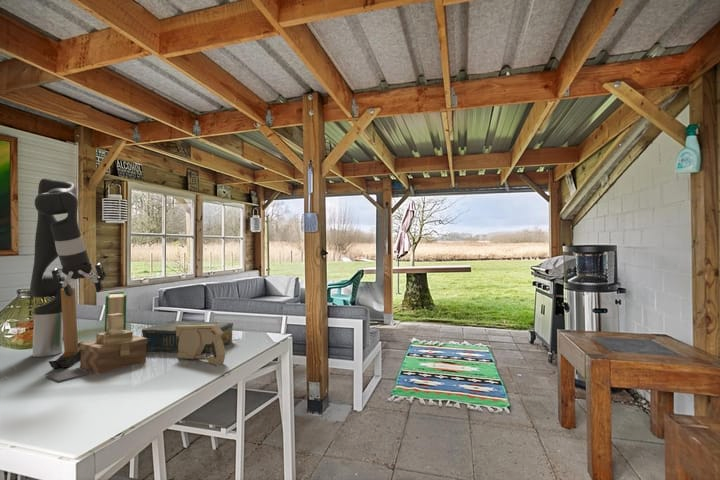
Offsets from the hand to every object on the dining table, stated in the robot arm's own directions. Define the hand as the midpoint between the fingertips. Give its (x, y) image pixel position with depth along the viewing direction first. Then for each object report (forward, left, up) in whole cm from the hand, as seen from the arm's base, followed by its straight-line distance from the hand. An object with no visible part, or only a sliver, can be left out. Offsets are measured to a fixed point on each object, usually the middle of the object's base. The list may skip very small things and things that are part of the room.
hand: (85, 293), depth 121 cm
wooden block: (-2, +11, -19) cm, 22 cm away
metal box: (0, +41, -29) cm, 50 cm away
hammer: (-19, +4, -29) cm, 35 cm away
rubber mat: (-2, -3, -28) cm, 28 cm away
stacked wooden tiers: (-2, +11, -28) cm, 30 cm away
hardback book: (-29, +24, -28) cm, 47 cm away
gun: (+23, +30, -29) cm, 47 cm away
